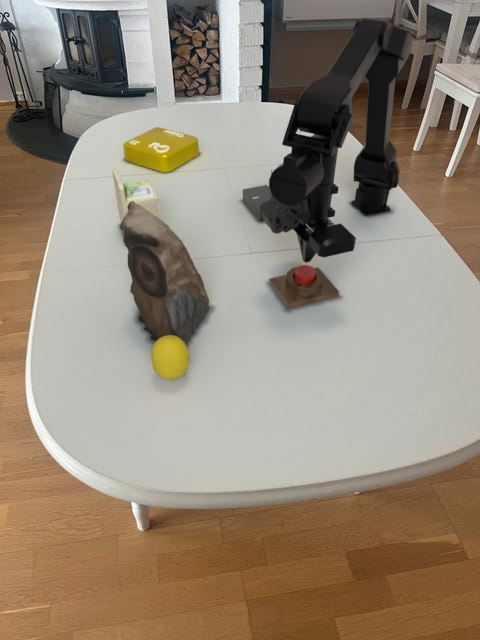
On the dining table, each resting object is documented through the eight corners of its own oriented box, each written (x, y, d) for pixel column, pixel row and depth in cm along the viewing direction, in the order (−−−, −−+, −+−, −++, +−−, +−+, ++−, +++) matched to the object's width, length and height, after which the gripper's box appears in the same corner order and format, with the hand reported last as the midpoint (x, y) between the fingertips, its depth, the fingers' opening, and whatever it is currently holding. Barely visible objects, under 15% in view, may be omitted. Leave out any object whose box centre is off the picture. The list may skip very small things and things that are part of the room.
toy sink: (163, 239, 107) (157, 180, 98) (128, 245, 105) (118, 186, 97) (154, 219, 113) (147, 162, 104) (120, 225, 111) (110, 167, 103)
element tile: (201, 153, 139) (201, 135, 136) (166, 174, 130) (165, 155, 127) (158, 141, 145) (156, 124, 142) (121, 160, 136) (119, 142, 133)
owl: (180, 355, 82) (170, 248, 68) (111, 335, 85) (89, 229, 72) (213, 308, 90) (209, 205, 77) (149, 291, 94) (135, 190, 81)
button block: (317, 272, 99) (319, 259, 97) (338, 296, 93) (340, 283, 91) (269, 283, 96) (269, 270, 94) (287, 309, 90) (288, 296, 88)
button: (308, 271, 95) (309, 263, 93) (318, 282, 92) (319, 274, 91) (291, 275, 94) (291, 267, 92) (299, 286, 91) (300, 278, 90)
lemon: (154, 364, 80) (149, 325, 75) (190, 362, 81) (187, 323, 75) (153, 391, 76) (147, 352, 71) (191, 389, 76) (187, 350, 71)
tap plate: (288, 191, 123) (289, 178, 121) (310, 213, 115) (311, 200, 113) (241, 199, 120) (241, 187, 118) (260, 223, 112) (261, 210, 110)
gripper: (244, 161, 84) (243, 242, 95) (294, 215, 71) (287, 303, 82) (305, 151, 87) (298, 231, 98) (364, 201, 74) (349, 287, 85)
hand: (306, 261), depth 90 cm, fingers closed
